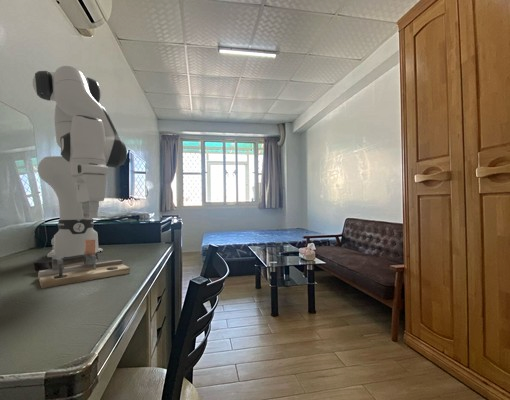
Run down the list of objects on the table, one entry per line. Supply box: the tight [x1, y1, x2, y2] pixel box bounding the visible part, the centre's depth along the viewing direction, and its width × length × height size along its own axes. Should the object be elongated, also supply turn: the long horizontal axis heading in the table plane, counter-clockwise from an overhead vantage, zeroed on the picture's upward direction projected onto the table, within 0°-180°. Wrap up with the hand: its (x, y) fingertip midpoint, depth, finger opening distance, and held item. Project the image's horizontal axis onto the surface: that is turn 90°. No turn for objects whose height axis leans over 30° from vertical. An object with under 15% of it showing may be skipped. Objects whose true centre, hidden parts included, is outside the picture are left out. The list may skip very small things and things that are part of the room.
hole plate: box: [37, 256, 131, 289], centre depth 75 cm, size 12×20×6 cm, turn 132°
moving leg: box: [84, 239, 97, 270], centre depth 76 cm, size 8×2×8 cm, turn 42°
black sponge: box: [32, 253, 99, 272], centre depth 86 cm, size 16×8×4 cm, turn 155°
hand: (89, 218), depth 78 cm, fingers open, 8 cm apart
